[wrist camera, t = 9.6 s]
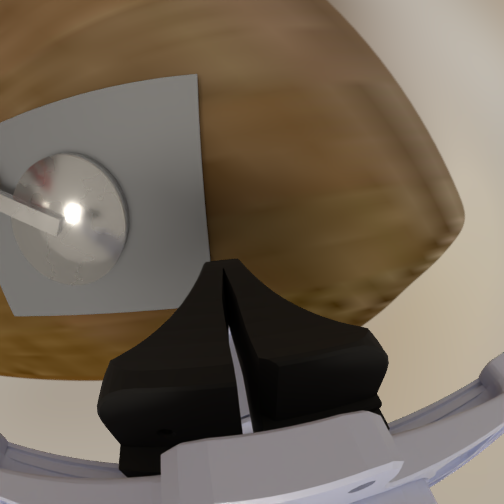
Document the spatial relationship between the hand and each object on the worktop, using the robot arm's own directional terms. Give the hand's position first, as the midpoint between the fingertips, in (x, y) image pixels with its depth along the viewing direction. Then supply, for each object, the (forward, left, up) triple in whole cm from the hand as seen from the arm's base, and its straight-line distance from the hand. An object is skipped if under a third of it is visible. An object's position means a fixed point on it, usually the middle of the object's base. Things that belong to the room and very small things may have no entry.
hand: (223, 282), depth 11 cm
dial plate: (+1, +10, -9) cm, 14 cm away
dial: (+2, +12, -8) cm, 14 cm away
